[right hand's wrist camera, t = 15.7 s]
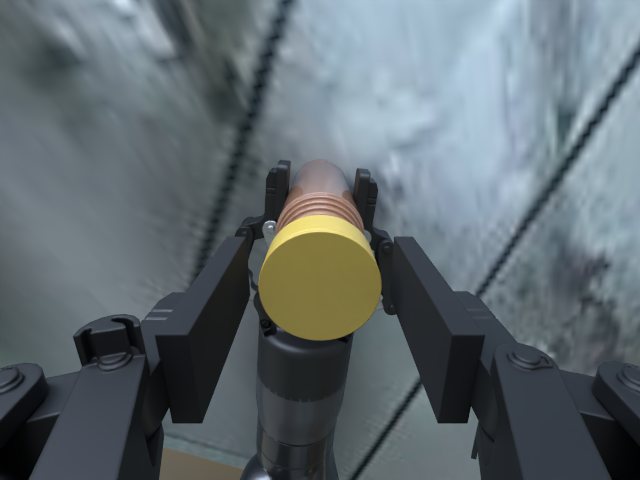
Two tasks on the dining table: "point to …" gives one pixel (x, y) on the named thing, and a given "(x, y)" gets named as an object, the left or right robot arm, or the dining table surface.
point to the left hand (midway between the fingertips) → (323, 167)
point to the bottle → (319, 195)
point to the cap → (320, 278)
